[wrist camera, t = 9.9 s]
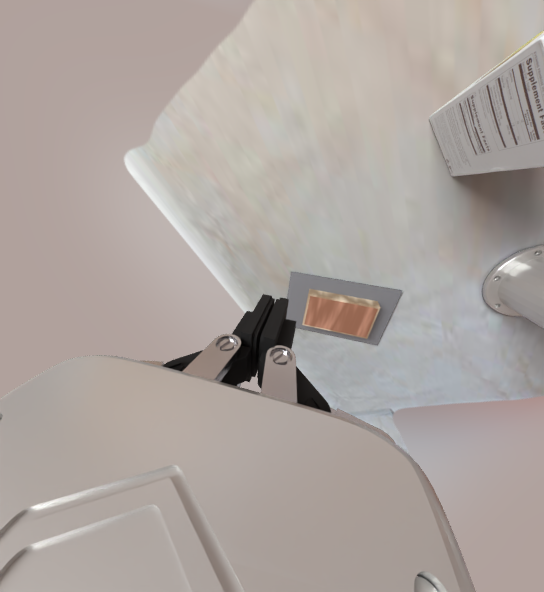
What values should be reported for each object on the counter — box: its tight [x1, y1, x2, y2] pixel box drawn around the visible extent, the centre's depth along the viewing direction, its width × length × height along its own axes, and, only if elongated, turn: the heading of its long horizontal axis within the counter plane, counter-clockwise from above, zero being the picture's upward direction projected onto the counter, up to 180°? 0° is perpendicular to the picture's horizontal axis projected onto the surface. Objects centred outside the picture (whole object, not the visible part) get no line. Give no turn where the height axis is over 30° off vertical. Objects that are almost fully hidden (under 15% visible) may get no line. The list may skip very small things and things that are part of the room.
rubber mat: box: [286, 272, 402, 345], centre depth 44 cm, size 22×14×1 cm, turn 85°
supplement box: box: [429, 30, 544, 176], centre depth 19 cm, size 10×9×17 cm
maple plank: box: [302, 289, 381, 339], centre depth 42 cm, size 3×8×14 cm
